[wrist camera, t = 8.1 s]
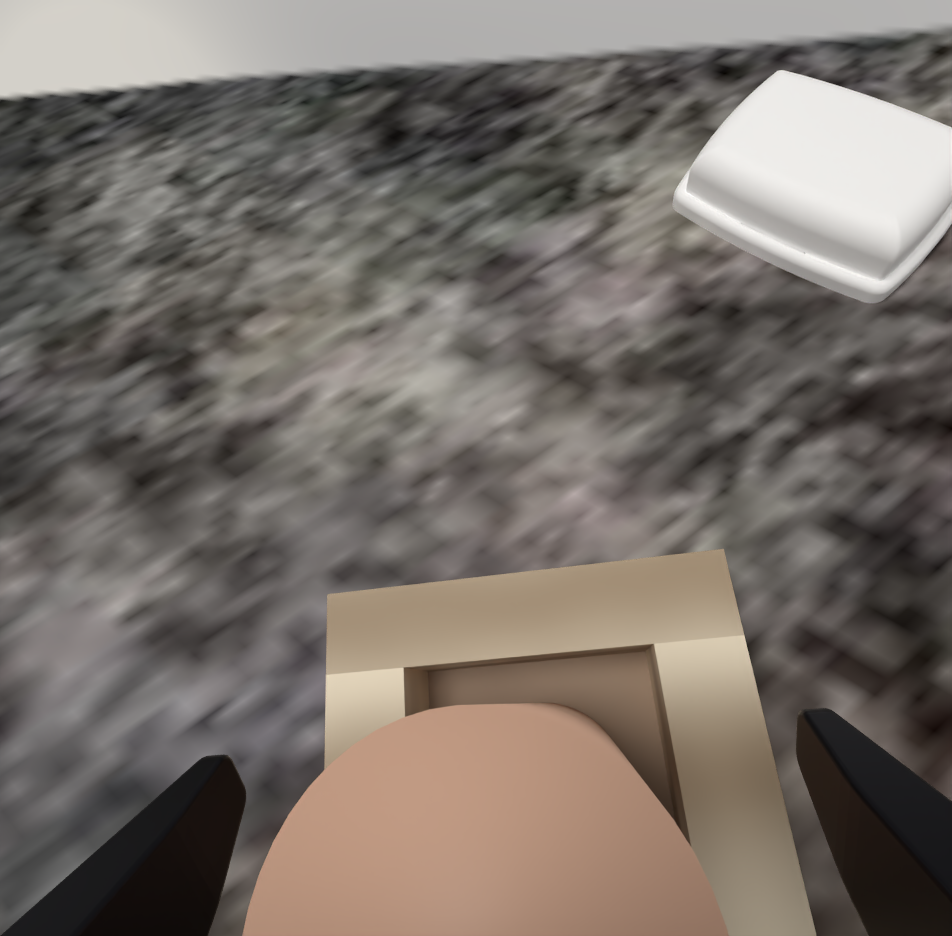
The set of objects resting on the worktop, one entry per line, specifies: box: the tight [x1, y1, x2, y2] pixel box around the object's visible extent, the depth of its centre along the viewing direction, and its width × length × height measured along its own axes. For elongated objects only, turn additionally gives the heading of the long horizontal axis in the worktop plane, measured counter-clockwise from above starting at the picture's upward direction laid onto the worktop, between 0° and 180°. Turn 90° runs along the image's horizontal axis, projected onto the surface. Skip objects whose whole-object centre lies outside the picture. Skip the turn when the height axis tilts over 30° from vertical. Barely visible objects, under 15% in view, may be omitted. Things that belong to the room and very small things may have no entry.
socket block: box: [325, 549, 817, 936], centre depth 16 cm, size 11×11×3 cm
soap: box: [673, 70, 952, 303], centre depth 22 cm, size 9×7×3 cm
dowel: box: [243, 703, 729, 936], centre depth 11 cm, size 4×4×12 cm
